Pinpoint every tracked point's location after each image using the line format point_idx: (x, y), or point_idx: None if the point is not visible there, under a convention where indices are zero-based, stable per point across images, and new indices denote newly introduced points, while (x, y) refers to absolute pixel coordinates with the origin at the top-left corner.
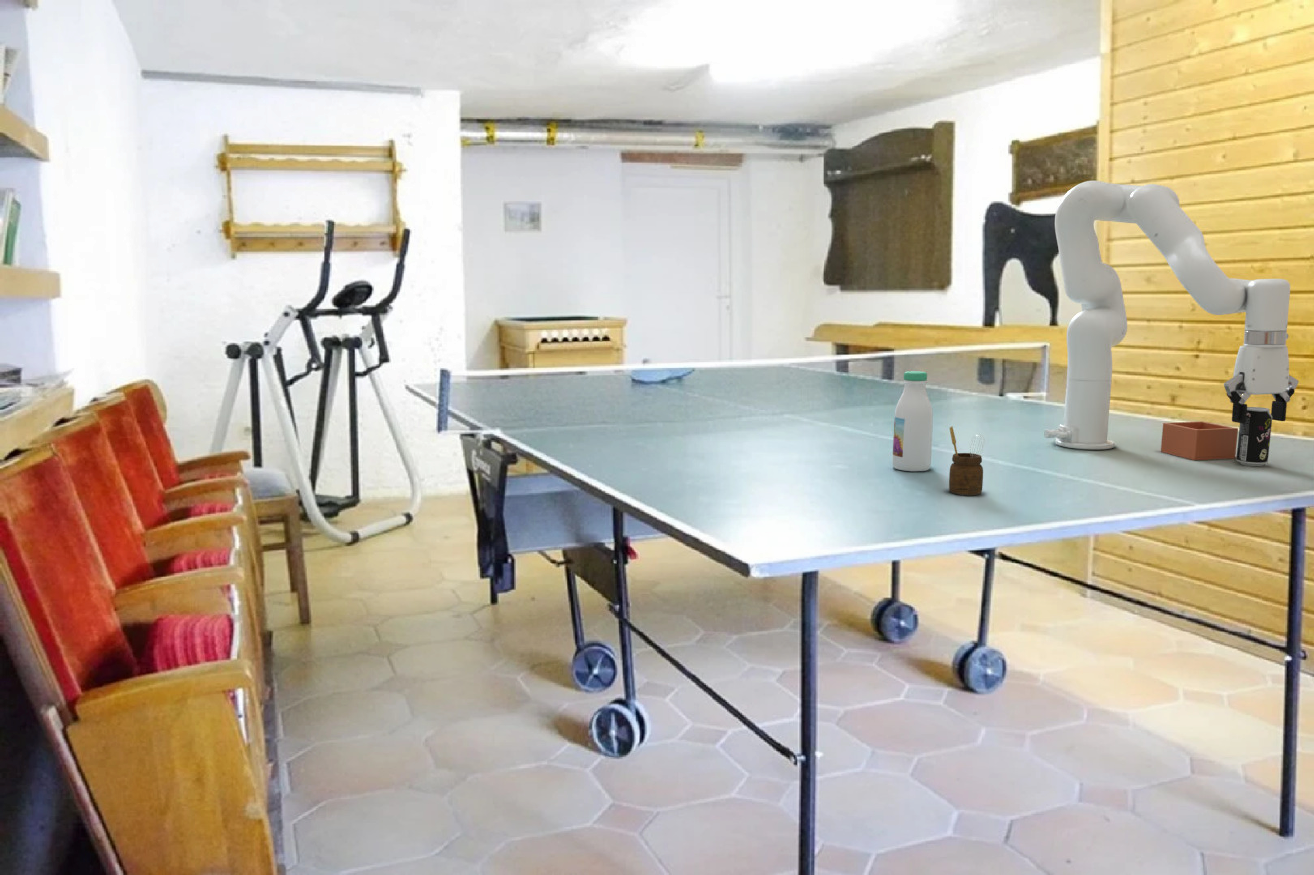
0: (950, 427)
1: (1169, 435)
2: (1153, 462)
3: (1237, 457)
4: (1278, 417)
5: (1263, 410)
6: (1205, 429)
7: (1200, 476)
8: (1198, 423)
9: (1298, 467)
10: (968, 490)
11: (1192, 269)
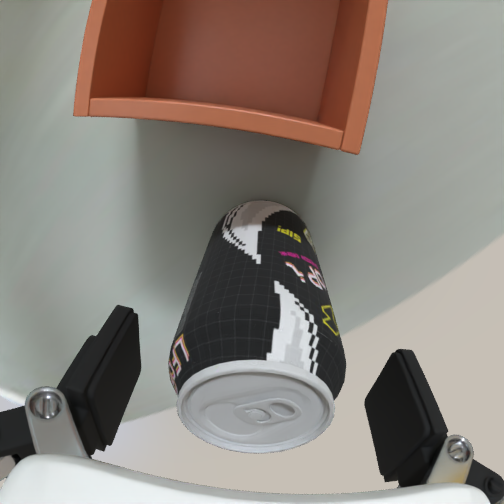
0: None
1: None
2: (10, 110)
3: (216, 226)
4: (376, 396)
5: (227, 448)
6: (125, 111)
7: (17, 289)
8: None
9: (350, 320)
10: None
11: None
